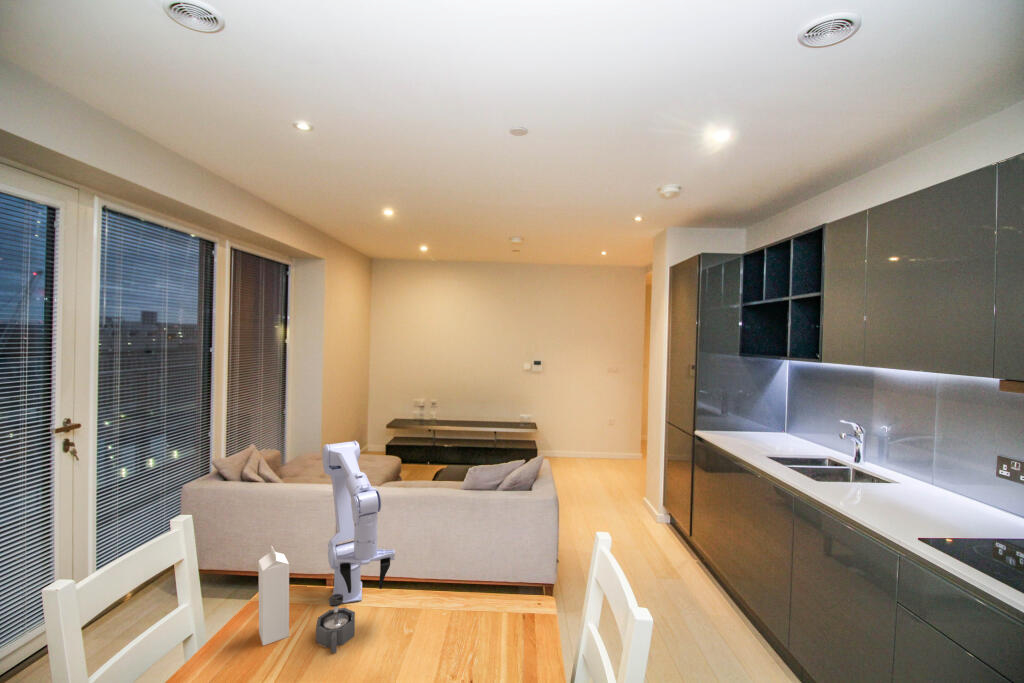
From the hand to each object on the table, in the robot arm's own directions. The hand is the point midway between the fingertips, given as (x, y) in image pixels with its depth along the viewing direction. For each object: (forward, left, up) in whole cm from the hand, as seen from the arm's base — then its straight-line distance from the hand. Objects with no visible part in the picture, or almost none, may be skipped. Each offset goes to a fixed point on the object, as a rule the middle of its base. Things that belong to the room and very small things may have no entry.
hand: (365, 588), depth 122 cm
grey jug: (+2, -7, -10) cm, 13 cm away
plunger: (+1, -7, -7) cm, 10 cm away
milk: (-3, -22, -11) cm, 25 cm away
